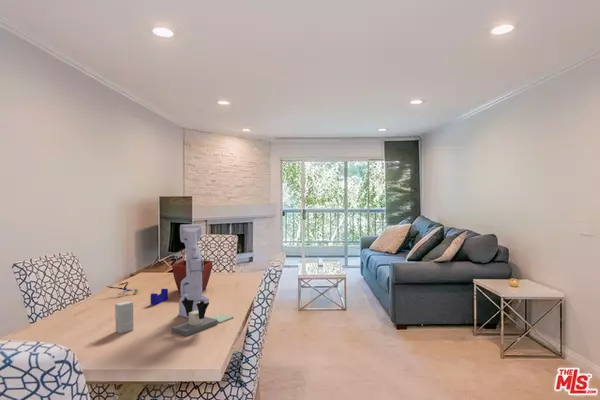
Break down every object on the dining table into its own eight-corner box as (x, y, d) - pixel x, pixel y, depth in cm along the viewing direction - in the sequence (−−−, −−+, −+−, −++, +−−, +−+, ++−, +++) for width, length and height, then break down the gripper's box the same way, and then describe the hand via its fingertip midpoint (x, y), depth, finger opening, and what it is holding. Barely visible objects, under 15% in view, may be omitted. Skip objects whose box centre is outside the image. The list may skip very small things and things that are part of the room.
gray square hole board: (171, 332, 165) (171, 327, 165) (203, 320, 180) (203, 316, 180) (186, 336, 160) (186, 331, 160) (217, 324, 176) (217, 319, 175)
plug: (188, 328, 170) (188, 312, 170) (195, 325, 173) (195, 310, 173) (195, 330, 168) (195, 314, 168) (202, 327, 171) (202, 311, 171)
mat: (206, 319, 182) (206, 318, 182) (219, 314, 189) (219, 313, 189) (220, 323, 177) (220, 321, 177) (233, 317, 184) (233, 316, 184)
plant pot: (213, 287, 245) (213, 260, 245) (202, 294, 226) (202, 266, 226) (184, 286, 247) (184, 259, 247) (171, 294, 228) (171, 265, 228)
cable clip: (160, 299, 218) (160, 288, 217) (167, 299, 217) (167, 288, 217) (148, 305, 206) (148, 293, 206) (155, 305, 205) (155, 294, 205)
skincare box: (128, 327, 171) (128, 300, 170) (133, 329, 168) (133, 302, 168) (115, 331, 166) (114, 303, 166) (119, 333, 163) (119, 305, 163)
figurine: (138, 307, 225) (101, 301, 218) (140, 298, 233) (104, 292, 226) (143, 292, 223) (106, 285, 215) (145, 284, 231) (108, 277, 223)
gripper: (176, 285, 171) (177, 316, 171) (200, 290, 163) (200, 322, 163) (189, 282, 177) (189, 312, 177) (212, 286, 169) (212, 318, 169)
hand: (195, 317), depth 170 cm, fingers open, 7 cm apart
